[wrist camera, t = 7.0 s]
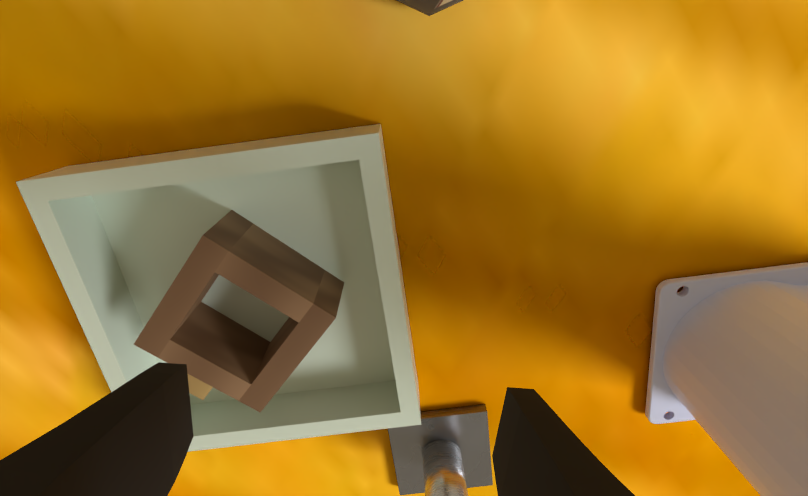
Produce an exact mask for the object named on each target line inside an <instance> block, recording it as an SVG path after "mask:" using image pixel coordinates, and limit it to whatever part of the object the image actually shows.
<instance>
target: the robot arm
mask: <svg viewBox="0 0 808 496" xmlns="http://www.w3.org/2000/svg"><path fill="white" fill-rule="evenodd" d="M682 286H684V287H683V290H681V291H680V292H678V293H677V290H678V289H679V288H680V287H682ZM666 412H668V413H666ZM665 413H666V414H665ZM645 415H646V417H647V418H648V420H649V421H650V422H651V423H653V424H661V423H670V422H679V421H687V420H697V421H698V423H699V424H700V425H701V426H702V427H703V429H704V430H705V431H706V432H707V433H708V434H709V436H710V437H711V438H712V439H713V440H714V441H715V443H716V444H717V445H718V446H719V447H720V448H721V450H722V451H723V452H724V453H725V454H726V455H727V457H728V458H729V459H730V460H731V461H732V463H733V464H734V465H735V466H736V467H737V468H738V470H739V471H740V472H741V473H742V474H743V475H744V477H745V478H746V479H747V480H748V481H749V482H750V484H751V485H752V486H753V487H754V488H755V489H756V491H757V492H758V493H759V494H760V495H761V496H808V262H805V263H797V264H789V265H781V266H773V267H764V268H756V269H748V270H740V271H732V272H724V273H716V274H707V275H699V276H691V277H683V278H675V279H667V280H664V281H662V282H661V283H660V284H659V285H658V286H657V289H656V295H655V306H654V318H653V329H652V341H651V352H650V364H649V375H648V387H647V398H646V410H645ZM193 437H194V436H193V425H192V415H191V405H190V394H189V384H188V373H187V364H175V363H161V362H159V363H157V364H155V365H153V366H152V367H150V368H148V369H147V370H145V371H144V372H142V373H140V374H139V375H137V376H136V377H134V378H133V379H131V380H130V381H128V382H126V383H125V384H123V385H122V386H120V387H119V388H117V389H116V390H114V391H113V392H111V393H110V394H108V395H107V396H105V397H103V398H102V399H100V400H99V401H97V402H96V403H94V404H92V405H91V406H89V407H88V408H86V409H85V410H83V411H81V412H80V413H78V414H77V415H75V416H74V417H72V418H71V419H69V420H67V421H66V422H64V423H63V424H61V425H59V426H58V427H56V428H54V429H53V430H51V431H49V432H47V433H46V434H44V435H42V436H41V437H39V438H37V439H36V440H34V441H32V442H31V443H29V444H27V445H26V446H24V447H22V448H20V449H19V450H17V451H15V452H14V453H12V454H10V455H9V456H7V457H5V458H4V459H2V460H0V496H167V495H168V493H169V491H170V490H171V488H172V486H173V484H174V482H175V480H176V478H177V475H178V473H179V471H180V468H181V466H182V464H183V461H184V459H185V456H186V454H187V451H188V449H189V446H190V444H191V442H192V439H193ZM492 456H493V464H494V471H495V478H496V485H497V491H498V496H635V495H634V494H633V493H632V492H631V491H630V490H628V489H627V488H626V487H625V486H624V485H623V484H622V483H621V482H620V481H619V480H618V479H617V478H616V477H615V476H614V475H613V474H612V473H611V472H610V471H609V470H608V469H607V468H606V467H605V466H604V465H603V464H602V463H601V462H600V461H599V460H598V459H597V458H596V457H595V456H594V455H593V454H592V453H591V451H590V450H589V449H588V448H587V447H586V446H585V445H584V444H583V443H582V442H581V441H580V440H579V439H578V438H577V436H576V435H575V434H574V433H573V432H572V431H571V430H570V429H569V428H568V427H567V425H566V424H565V423H564V422H563V421H562V420H561V419H560V418H559V417H558V416H557V414H556V413H555V412H554V411H553V410H552V409H551V408H550V407H549V405H548V404H547V403H546V402H545V401H544V400H543V399H542V398H541V397H540V395H539V394H538V393H537V392H536V391H535V390H534V389H523V388H509V387H507V391H506V396H505V400H504V405H503V410H502V414H501V419H500V423H499V428H498V432H497V437H496V442H495V446H494V451H493V455H492Z"/></svg>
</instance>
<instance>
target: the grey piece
mask: <svg viewBox="0 0 808 496" xmlns="http://www.w3.org/2000/svg"><path fill="white" fill-rule="evenodd" d="M420 414H421V425H413V426H405V427H396V428H388V432H389V437H390V443H391V448H392V454H393V459H394V465H395V470H396V476H397V481H398V487H399V492H400V495H406V494H415V493H424V492H425V496H468V491H467V488H470V487H479V486H488V485H493V483H492V470H491V457H490V444H489V431H488V418H487V410H486V406H485V404H484V405H476V406H467V407H458V408H450V409H441V410H433V411H424V412H420Z"/></svg>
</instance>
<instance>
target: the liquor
mask: <svg viewBox="0 0 808 496" xmlns="http://www.w3.org/2000/svg"><path fill="white" fill-rule="evenodd" d="M397 1H399V2H401V3H403V4H405V5H407V6H409V7H411V8H414V9H416V10H418V11H420V12H422V13H424V14H426V15H428V16H430V15H432V14H434V13H437V12H439V11H441V10H443V9H445V8H448V7H450V6H452V5H454V4H456V3H458V2H461V1H463V0H397Z"/></svg>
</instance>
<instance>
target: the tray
mask: <svg viewBox="0 0 808 496" xmlns="http://www.w3.org/2000/svg"><path fill="white" fill-rule="evenodd" d="M16 184H17V186H18V188H19V190H20V192H21V195H22V197H23V199H24V201H25V203H26V206H27V208H28V210H29V212H30V214H31V217H32V219H33V221H34V223H35V225H36V228H37V230H38V232H39V234H40V236H41V239H42V241H43V243H44V245H45V247H46V249H47V252H48V254H49V256H50V258H51V260H52V263H53V265H54V267H55V269H56V271H57V274H58V276H59V278H60V280H61V282H62V285H63V287H64V289H65V291H66V293H67V296H68V298H69V300H70V302H71V304H72V307H73V309H74V311H75V313H76V315H77V318H78V320H79V322H80V324H81V326H82V329H83V331H84V333H85V335H86V337H87V340H88V342H89V344H90V346H91V348H92V351H93V353H94V355H95V357H96V359H97V362H98V364H99V366H100V368H101V370H102V373H103V375H104V377H105V379H106V381H107V384H108V386H109V388H110V390H111V392H113V391H114V390H116V389H117V388H119V387H120V386H122V385H123V384H125V383H126V382H128V381H130V380H131V379H133V378H134V377H136V376H137V375H139V374H140V373H142V372H144V371H145V370H147V369H148V368H150V367H152V366H153V365H155V364H157V363H159V362H161V363H167V362H165V361H163V360H161V359H159V358H158V357H156V356H154V355H152V354H150V353H148V352H146V351H145V350H143V349H141V348H139V347H137V346H135V345H133V344H134V343H135V341H136V340H137V338H138V337H139V335H140V333H141V332H142V330H143V329H144V327H145V325H146V324H147V322H148V321H149V319H150V318H151V316H152V314H153V313H154V311H155V310H156V308H157V307H158V305H159V303H160V302H161V300H162V299H163V297H164V295H165V294H166V292H167V291H168V289H169V288H170V286H171V284H172V283H173V281H174V280H175V278H176V277H177V275H178V273H179V272H180V270H181V269H182V267H183V266H184V264H185V262H186V261H187V259H188V258H189V256H190V254H191V253H192V251H193V250H194V248H195V247H196V245H197V243H198V242H199V240H200V239H201V237H202V236H203V234H205V233H206V232H207V231H208V230H209V229H210V228H211V227H213V226H214V225H215V224H216V223H217V222H218V221H219V220H220V219H222V218H223V217H224V216H225V215H226V214H227V213H228V212H230V211H231V210H233V211H235V212H236V213H238V214H239V215H241V216H243V217H244V218H246V219H247V220H249V221H250V222H252V223H253V224H255V225H256V226H258V227H260V228H261V229H263V230H264V231H266V232H267V233H269V234H270V235H272V236H273V237H275V238H277V239H278V240H280V241H281V242H283V243H284V244H286V245H287V246H289V247H290V248H292V249H294V250H295V251H297V252H298V253H300V254H301V255H303V256H304V257H306V258H307V259H309V260H311V261H312V262H314V263H315V264H317V265H318V266H320V267H321V268H323V269H324V270H326V271H327V272H329V273H331V274H332V275H334V276H335V277H337V278H338V279H340V280H341V281H343V282H344V286H343V290H342V295H341V299H340V303H339V307H338V312H337V316H336V319H335V320H334V321H333V322H332V324H331V325H330V326H329V327H328V329H327V330H326V331H325V332H324V334H323V335H322V336H321V337H320V339H319V340H318V341H317V342H316V344H315V345H314V346H313V347H312V349H311V350H310V351H309V352H308V354H307V355H306V356H305V357H304V359H303V360H302V361H301V362H300V364H299V365H298V366H297V367H296V369H295V370H294V371H293V372H292V374H291V375H290V376H289V377H288V379H287V380H286V381H285V382H284V384H283V385H282V386H281V387H280V389H279V390H278V391H277V392H276V394H275V395H274V396H273V397H272V399H271V400H270V401H269V402H268V404H267V405H266V406H265V407H264V409H263V410H262V411H261V412H258V411H256V410H254V409H253V408H251V407H249V406H247V405H245V404H243V403H241V402H240V401H238V400H236V399H234V398H232V397H230V396H228V395H226V394H225V393H223V392H221V391H219V390H217V389H215V388H212V389H211V390H210V392H209V393H208V395H207V396H206V397H205V399H204V400H202V399H200V398H198V397H196V396H194V395H192V394H190V393H189V394H190V405H191V415H192V425H193V436H194V437H193V439H192V442H191V444H190V446H189V449H188V451H197V450H205V449H214V448H223V447H231V446H240V445H249V444H257V443H266V442H275V441H283V440H292V439H301V438H309V437H318V436H327V435H335V434H344V433H353V432H361V431H370V430H379V429H387V428H396V427H405V426H413V425H421V414H420V401H419V387H418V379H417V372H416V365H415V358H414V351H413V344H412V337H411V330H410V323H409V316H408V310H407V303H406V296H405V289H404V282H403V275H402V268H401V261H400V254H399V247H398V240H397V233H396V226H395V219H394V212H393V205H392V198H391V191H390V184H389V177H388V170H387V163H386V156H385V149H384V142H383V135H382V128H381V124H374V125H366V126H359V127H352V128H344V129H337V130H329V131H322V132H315V133H307V134H300V135H293V136H285V137H278V138H270V139H263V140H256V141H248V142H241V143H233V144H226V145H219V146H211V147H204V148H196V149H189V150H182V151H174V152H167V153H160V154H152V155H145V156H137V157H130V158H123V159H115V160H108V161H100V162H93V163H86V164H78V165H71V166H66V167H63V168H59V169H56V170H53V171H50V172H46V173H43V174H40V175H36V176H33V177H30V178H27V179H23V180H20V181H17V182H16ZM201 302H203V303H204V304H206V305H208V306H210V307H211V308H213V309H215V310H216V311H218V312H220V313H222V314H223V315H225V316H227V317H228V318H230V319H232V320H234V321H235V322H237V323H239V324H240V325H242V326H244V327H246V328H247V329H249V330H251V331H253V332H254V333H256V334H258V335H259V336H261V337H263V338H265V339H266V340H268V341H270V342H271V341H272V339H273V338H274V337H275V335H276V334H277V333H278V331H279V330H280V329H281V327H282V326H283V325H284V323H285V322H286V321H287V319H288V318H289V317H288V316H287V315H285V314H283V313H282V312H280V311H278V310H277V309H275V308H274V307H272V306H270V305H269V304H267V303H265V302H264V301H262V300H260V299H259V298H257V297H255V296H254V295H252V294H250V293H249V292H247V291H245V290H244V289H242V288H240V287H239V286H237V285H235V284H234V283H232V282H231V281H229V280H227V279H226V278H224V277H222V276H221V275H219V276H218V277H217V279H216V280H215V282H214V283H213V285H212V286H211V288H210V289H209V291H208V292H207V294H206V295H205V297H204V298H203V300H202V301H201ZM188 451H187V452H188Z"/></svg>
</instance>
